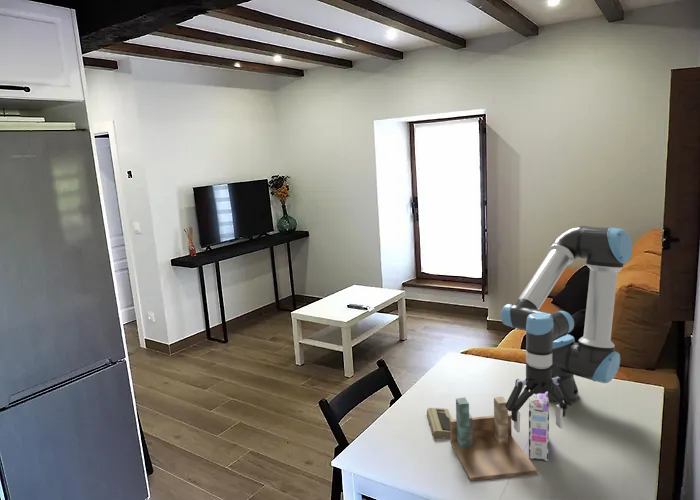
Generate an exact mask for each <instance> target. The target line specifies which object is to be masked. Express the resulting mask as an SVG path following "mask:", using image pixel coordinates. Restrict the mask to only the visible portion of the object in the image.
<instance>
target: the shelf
mask: <svg viewBox="0 0 700 500" xmlns="http://www.w3.org/2000/svg"><path fill="white" fill-rule="evenodd" d="M507 401H508V400H507V399H506V398H505V397H504V396H496V397H495V396H494V397H493V414H492V415H486V416H475V417H474V416H473V417H472V415H471V413H470V404H469V403H470V402H469V401H468V400H467V398H466V397H457V398H455V418H456V419H455V418H454V419H452V420H450V433H451V437H450V443H451V445H452V447H453V450H454V452H455V454H456V456H457V458H458V460H459V461H460V464H461V466H462V467H463V470H464V472H465V474H466V476H467V477H468V479H469V481H471V482H472V481H473V482H474V481H481V480H488V479H489V480H491V479H498V478H499V479H500V478H508V477H516V476H523V475H524V476H525V475H526V476H527V475H534V474H538V469H537V468H536V466H535V465H534V464H533V462H532V461H531V460H530V458H529V456H527V454H526V453H525V451H524V449H522V447H521V446H520V444H519V443H518V442H517V441H516V439H515V438H514V436H512V418H511V413H509V411H508V409H507V408H506V407H505V405H506V403H507Z"/></svg>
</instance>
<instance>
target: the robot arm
mask: <svg viewBox="0 0 700 500" xmlns="http://www.w3.org/2000/svg"><path fill="white" fill-rule="evenodd" d="M632 253H633V244H632V239H631V237H630V234H629V233H628V231H626V230H625V229H622V228H618V227H617V228H616V227H603V226H587V225H578V226H574V227H571V228H569V229H568V230H566V231H564V232H562V233H560V234H559V235H558V236H557V237H556V238H555V239H554V240H553V241H551V244H550V245H549V246H548V248H547V255H546V256H545V258H544V259H543V260H542V262H541V263H540V265H539V267H538V268H537V270H536V271H535V273H534V275H532V278H530V281H529V282H528V284H527V285H526V286H525V288H524V289H523V291H522V292H521V293H520V296H519V297H518V299H517V300H516V301H515V303H514V304H513V303H507V304H506V305H504V306H502V309H501V310H500V319H501V322H502V324H503V325H505V326H507V327H511V328H513V329H518V330H522V331H526V332H525V334H526V336H525V337H526V338H525V339H526V340H525V342H526V347H525V362H526V364H525V380H521V379H519V378H516V379H515V384H514V387H513V390H512V391H511V393H510V395H509V397H508V399H507V400H506V401H507V403H506V405H505V407H506V408H507V409H508V412H511V413H510V414H511V421H513V428H514V430H515V431H516V432H517V433H521V412H520V411H519V410H520V409H521V408H522V407H523V406H524V405H525V403H526V402H527V401H529V397H531V396H532V395H533V394H539V393H541V394H545V392H548V401H549V403H554V404H556V405H555V406H556V407H555V425H556V426H557V427H558V428H559V429H563V419H564V418H565V417H566V410H567V409H568V406H569V407H570V406H572V404H573V402H575V401H577V400H578V398H579V389H578V386H577V383H576V381H575V376H576V377H581V378H583V379H587V380H589V381H593V382H597V383H600V384H608V383H610V382H611V381H612V380H613V379H614V378H615V376H616V374H618V370H619V369H620V365H621V355H620V353H619V352H618V351H616V350H615V348H616V347H615V346H616V345H615V343H614V342H613V341H612V340H611V338H612V330H613V329H612V327H613V319H614V311H615V302H616V301H615V299H616V290H617V279H618V273H619V272H620V271H621V270H622V269H623V268H624V264H627V263H629V262H630V260H631V257H632ZM576 259H586V262H585V265H586V266H587V268H589V277H588V278H589V280H588V287H587V288H588V290H587V298H586V306H585V307H586V309H585V318H584V328H583V336H581V337H580V338H579V339H578V341H577V342H576V341H575V340H576V339H575V337H574V336H573V335H571V334H569V333H571V332H572V331H573V330H574V327H575V320H574V317H572V315H571V314H570V313H569V312H568V311H565V310H557V311H554V312H550V311H547V310H541V309H540V308H541V307H542V305H543V304H544V302H545V301H546V299H547V297H548V296H549V295H550V294H551V291H552V290H553V289H554V287H555V285H556V283H557V282H558V281H559V279H560V277H561V275H562V274H563V273H564V271H565V270H566V268H567V266H569V265H571V264H572V263H573V262H574V261H575V260H576ZM523 388H524V389H523ZM522 390H523V391H522ZM529 391H530V392H529Z"/></svg>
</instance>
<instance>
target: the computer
mask: <svg viewBox="0 0 700 500" xmlns="http://www.w3.org/2000/svg"><path fill="white" fill-rule="evenodd" d="M426 416H427V417H428V423H429V427H430V430H431V434H432V437H433V439H440V438H441V439H442V438H443V437H445V438H451V433H450V420H453V419H452V418H453V417H452V416H451V414H450V410H449V409H448V408H440V407H427V409H426Z"/></svg>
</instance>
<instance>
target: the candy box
mask: <svg viewBox="0 0 700 500" xmlns="http://www.w3.org/2000/svg"><path fill="white" fill-rule="evenodd" d="M529 392H530V390H529ZM549 430H550V402H549V401H548V392H545V394H541V393H539V394H533V395H532V396H531V397H529V398H528V458H529V459H532V460H537V461H543V462H544V461H545V462H549V460H550V459H549V457H550V456H549V454H550V453H549V451H550V450H549V442H550V441H549V438H550V437H549V435H550V433H549V432H550V431H549Z"/></svg>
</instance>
